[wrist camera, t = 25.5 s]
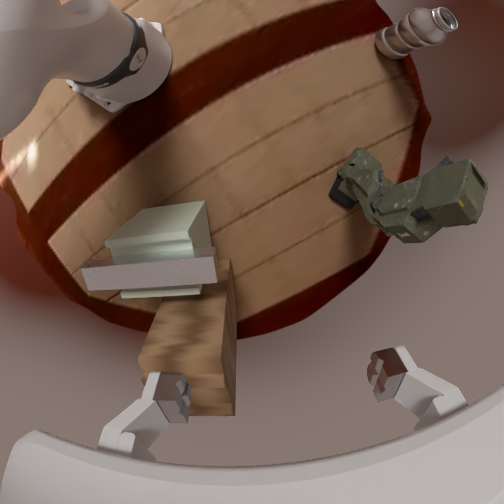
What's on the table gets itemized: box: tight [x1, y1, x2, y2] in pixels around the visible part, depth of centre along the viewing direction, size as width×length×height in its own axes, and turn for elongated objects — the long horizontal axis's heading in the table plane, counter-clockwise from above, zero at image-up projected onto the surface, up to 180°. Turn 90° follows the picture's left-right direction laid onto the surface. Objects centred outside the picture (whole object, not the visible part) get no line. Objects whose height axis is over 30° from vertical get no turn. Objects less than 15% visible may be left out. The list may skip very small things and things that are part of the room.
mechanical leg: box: [329, 148, 488, 243], centre depth 33 cm, size 14×7×30 cm, turn 150°
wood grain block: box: [138, 258, 237, 416], centre depth 41 cm, size 10×12×27 cm
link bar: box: [81, 247, 219, 291], centre depth 33 cm, size 19×4×3 cm, turn 95°
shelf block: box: [104, 201, 212, 298], centre depth 41 cm, size 12×9×16 cm
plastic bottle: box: [375, 7, 458, 59], centre depth 25 cm, size 6×7×20 cm
